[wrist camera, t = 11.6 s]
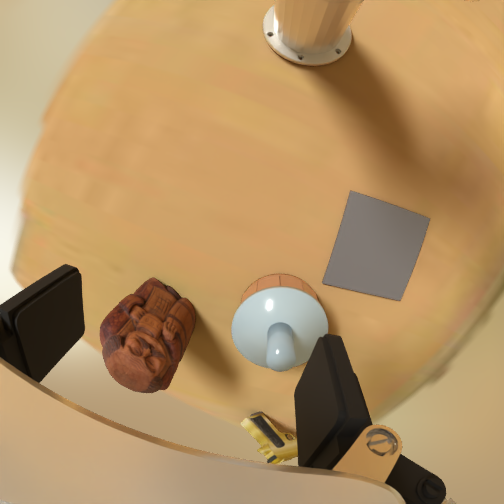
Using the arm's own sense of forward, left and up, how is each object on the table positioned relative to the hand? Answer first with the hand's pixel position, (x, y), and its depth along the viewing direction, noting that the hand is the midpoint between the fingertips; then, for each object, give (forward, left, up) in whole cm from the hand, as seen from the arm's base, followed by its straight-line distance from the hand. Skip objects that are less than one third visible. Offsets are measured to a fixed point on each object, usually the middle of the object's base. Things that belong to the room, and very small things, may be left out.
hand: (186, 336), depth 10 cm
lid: (+14, +8, -25) cm, 29 cm away
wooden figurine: (+18, -9, -31) cm, 36 cm away
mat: (+1, +20, -30) cm, 36 cm away
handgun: (+42, +18, -31) cm, 55 cm away
